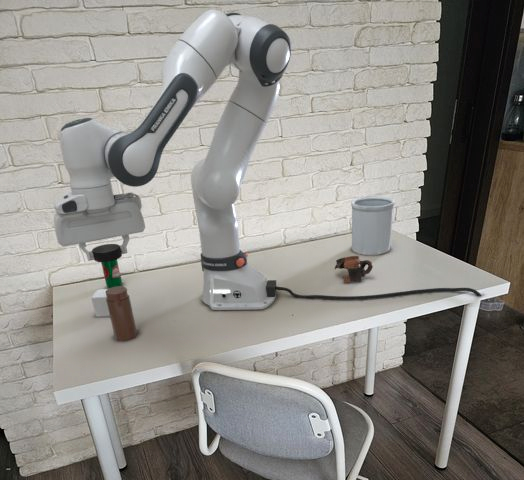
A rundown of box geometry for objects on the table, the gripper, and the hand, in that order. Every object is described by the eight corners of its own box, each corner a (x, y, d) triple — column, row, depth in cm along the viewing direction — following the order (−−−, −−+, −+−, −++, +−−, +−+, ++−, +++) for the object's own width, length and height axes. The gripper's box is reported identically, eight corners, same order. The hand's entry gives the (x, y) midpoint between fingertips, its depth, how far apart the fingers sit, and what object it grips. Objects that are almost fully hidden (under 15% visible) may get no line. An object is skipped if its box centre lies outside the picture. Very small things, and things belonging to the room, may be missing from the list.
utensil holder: (367, 258, 167) (370, 208, 159) (341, 248, 179) (343, 200, 170) (399, 250, 173) (404, 201, 164) (372, 240, 185) (375, 194, 176)
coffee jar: (141, 331, 128) (131, 286, 122) (130, 341, 123) (120, 295, 117) (121, 329, 130) (111, 285, 123) (110, 340, 125) (99, 294, 118)
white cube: (102, 308, 143) (98, 289, 140) (122, 307, 143) (118, 288, 140) (95, 316, 138) (91, 297, 135) (116, 315, 138) (111, 296, 135)
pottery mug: (334, 285, 150) (330, 259, 150) (340, 287, 158) (337, 263, 158) (373, 277, 145) (368, 250, 145) (377, 280, 154) (373, 255, 154)
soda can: (118, 289, 155) (110, 254, 149) (104, 289, 156) (95, 253, 150) (125, 283, 159) (117, 248, 153) (111, 283, 160) (103, 248, 154)
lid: (89, 258, 116) (87, 249, 115) (113, 250, 120) (111, 242, 119) (102, 264, 112) (100, 255, 111) (127, 256, 116) (125, 247, 114)
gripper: (135, 189, 115) (146, 244, 122) (46, 202, 108) (62, 261, 115) (142, 193, 110) (152, 251, 117) (48, 208, 103) (66, 268, 110)
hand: (107, 256), depth 116 cm, fingers closed on lid, 6 cm apart
